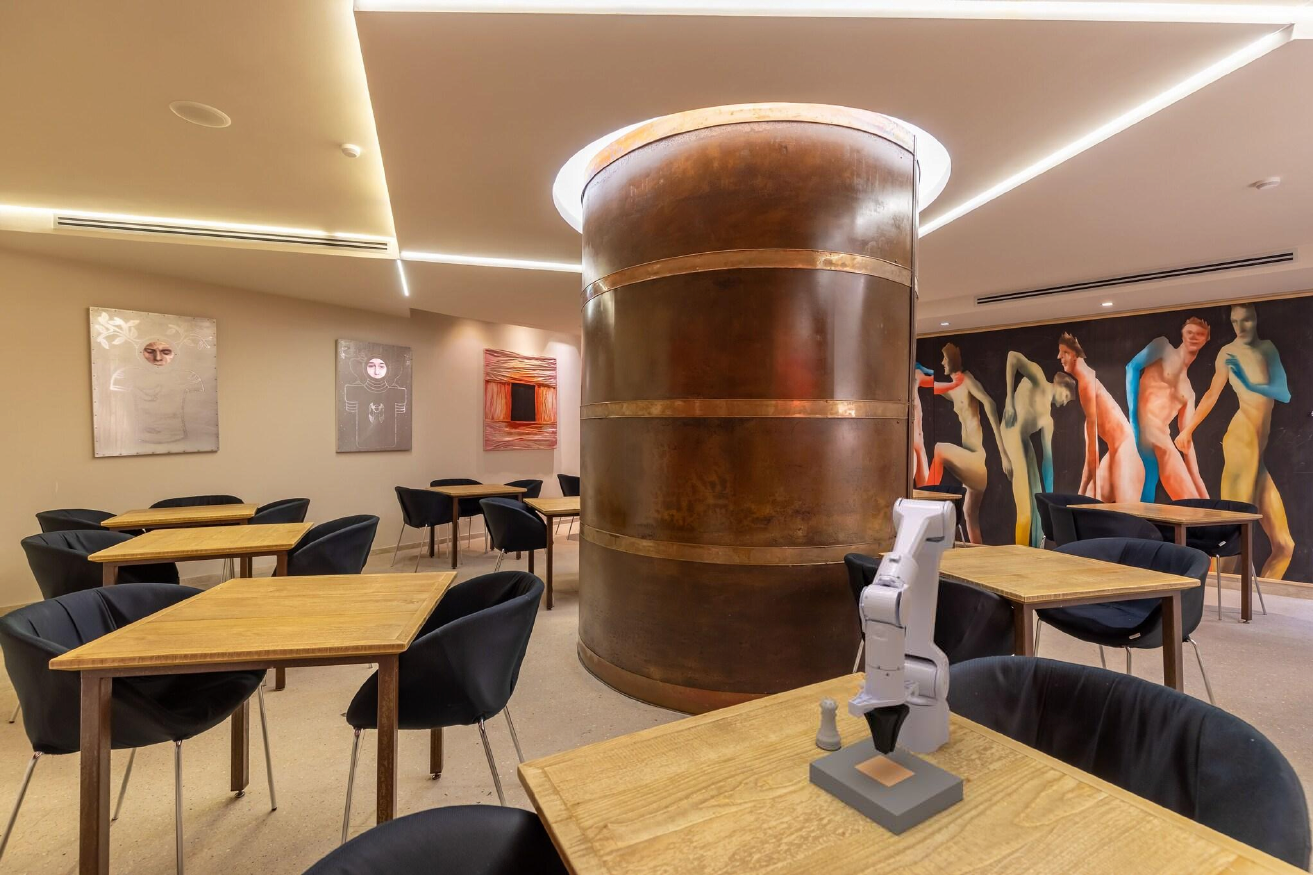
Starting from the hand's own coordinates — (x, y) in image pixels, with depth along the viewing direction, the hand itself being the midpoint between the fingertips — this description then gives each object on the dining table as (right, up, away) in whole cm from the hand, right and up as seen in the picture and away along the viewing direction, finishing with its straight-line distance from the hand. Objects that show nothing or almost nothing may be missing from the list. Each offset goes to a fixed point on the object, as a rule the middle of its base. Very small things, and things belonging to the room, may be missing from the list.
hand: (884, 750), depth 95 cm
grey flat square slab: (0, -6, 0) cm, 6 cm away
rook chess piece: (-5, -6, +14) cm, 16 cm away
